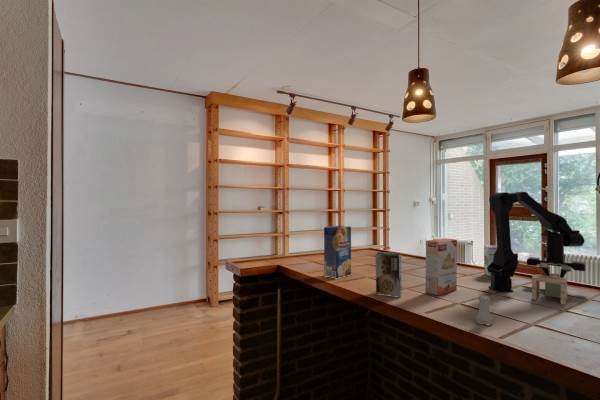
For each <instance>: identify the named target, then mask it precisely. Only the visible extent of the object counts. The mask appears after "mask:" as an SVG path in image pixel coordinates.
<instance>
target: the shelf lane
mask: <svg viewBox="0 0 600 400" xmlns="http://www.w3.org/2000/svg"><path fill="white" fill-rule="evenodd" d="M541 282H544V283H545V282H550V283H557V284H561V298H560V305H566V304H567V301H568V280H567V278H566V277H564V278H560V276H559V277H551V276H546V275H542V274H534V275H532V277H531V285H532V286H531V297H532V298H531V299H532V300H536V301H537V300H538V298H539V296H540V293H541V291H540V290H541V289H540V287H541V286H540V285H541V284H540V283H541Z"/></svg>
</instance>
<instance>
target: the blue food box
mask: <svg viewBox="0 0 600 400" xmlns="http://www.w3.org/2000/svg"><path fill="white" fill-rule="evenodd" d="M323 228H324V229H323V250H324V251H323V253H324V255H323V262H324V263H323V266H324V268H323V269H324V271H323V275H325V276H329V277H334V278H339V277H343V276H347V275H350V274H351V275H352V226H347V225H346V226H344V225H334V226H324V227H323ZM351 275H350V276H351ZM347 277H348V276H347Z"/></svg>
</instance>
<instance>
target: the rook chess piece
mask: <svg viewBox="0 0 600 400" xmlns="http://www.w3.org/2000/svg"><path fill="white" fill-rule="evenodd" d="M477 300H478V301H479V303H478V305H479V308H478V309H479V310H478V313H477V315H476V316H475V322H476V323H477V322H479V323H482V324H494V322H493V317H492V316H491V313H490V304H489V303H490V302H491V299H490V296H488V295H485V294H480V295H478V298H477ZM479 323H478V324H479ZM482 324H481V325H482Z"/></svg>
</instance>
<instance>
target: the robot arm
mask: <svg viewBox="0 0 600 400" xmlns="http://www.w3.org/2000/svg"><path fill="white" fill-rule="evenodd" d="M517 203H518V204H519V205H521V206H522V207H523V208H525V209H526V210H527V211H529V212H530V213H531V214H532V215H533V216H535V217H536V218H537V219H538V221H539V224H541V227H543V228H544V229H545V230H544V231H543V232H542V233H541V234H540V235H541V236H543V237H545V243H546V245H545V248H546V249H545V250H543V258H544V259H543V260H542V259H540V257H535V256H534V257H532V256H530V257H528V258H527V259H526V265H527V266H531V267H532V266H533V267H536V266H538V265H539V269H541V270H543V272H544V274H545V276H551V274H552V273H551V267H550V266H553V267H561V268H560V272H559V277H560V278H565V275H566V274H567V272H568V273H569V272H571V271H572V270H574V271H578V272H585V271H586V269H587V267H586V263H585V262H584V261H577V260H575V261H574V260H573V261H572V262H565V261H566V256H565V247H566V248H567V247H570V248H571V247H573V248H574V247H577V248H578V247H582V246H583V245H584V244H585V240H586V239H585V238H584V235H583V234H581V233H580V230H577V229H572V228H571V226H570V225H569V224H568V221H567V219H566V218H565V217H563V216H561V215H560V214H557V213H555V212H552V211H550V210H548V209H547V208H546V207H545V206H543V205H542V204H541V203H539V201H537V200H536V199H534V198H533V197H532V196H531V195H530V194H529V193H528V192H526V191H515V192H511V193H509V192H507V191H505V192H504V191H503V192H494V193H492V194H491V195H490V196H489V205H490V206H489V207H490V209H491V211H492V212H493V214H494V221H495V234H496V235H495V236H496V246H497V250H496V252H495V254H494V258H493V262H492V263H491V264H490V265H489V266H488V267H487V269H488V272H490V273H491V277H490V285H488V288H489V289H492V290H494V291H496V292H514V289H512V288H513V287H512V286H513V285H512V284H513V283H512V280H513V279H512V277H514V275H515V272H516V269H518V265H519V264H520V263H519V255H518V253H516V252H513V249H512V240H511V239H512V238H511V225H510V224H511V223H510V214H511V212H512V209H513V207H514V206H513V205H514V204H517ZM545 259H546V260H545ZM500 270H501V271H500Z"/></svg>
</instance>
